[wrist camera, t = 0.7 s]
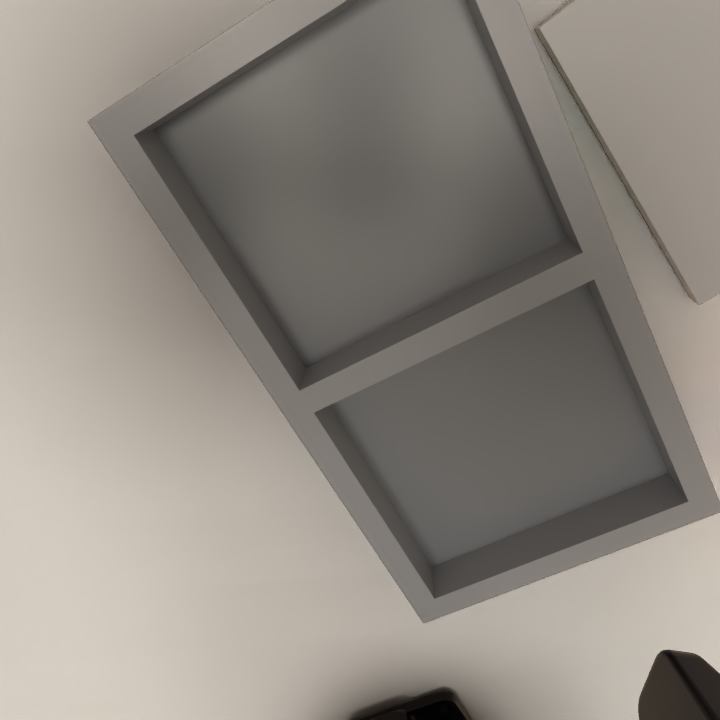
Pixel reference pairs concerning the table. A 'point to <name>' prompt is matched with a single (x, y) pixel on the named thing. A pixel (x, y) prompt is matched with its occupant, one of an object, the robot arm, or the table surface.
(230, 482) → the table surface
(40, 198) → the table surface
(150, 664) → the table surface
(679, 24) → the lid
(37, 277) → the table surface
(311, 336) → the housing
